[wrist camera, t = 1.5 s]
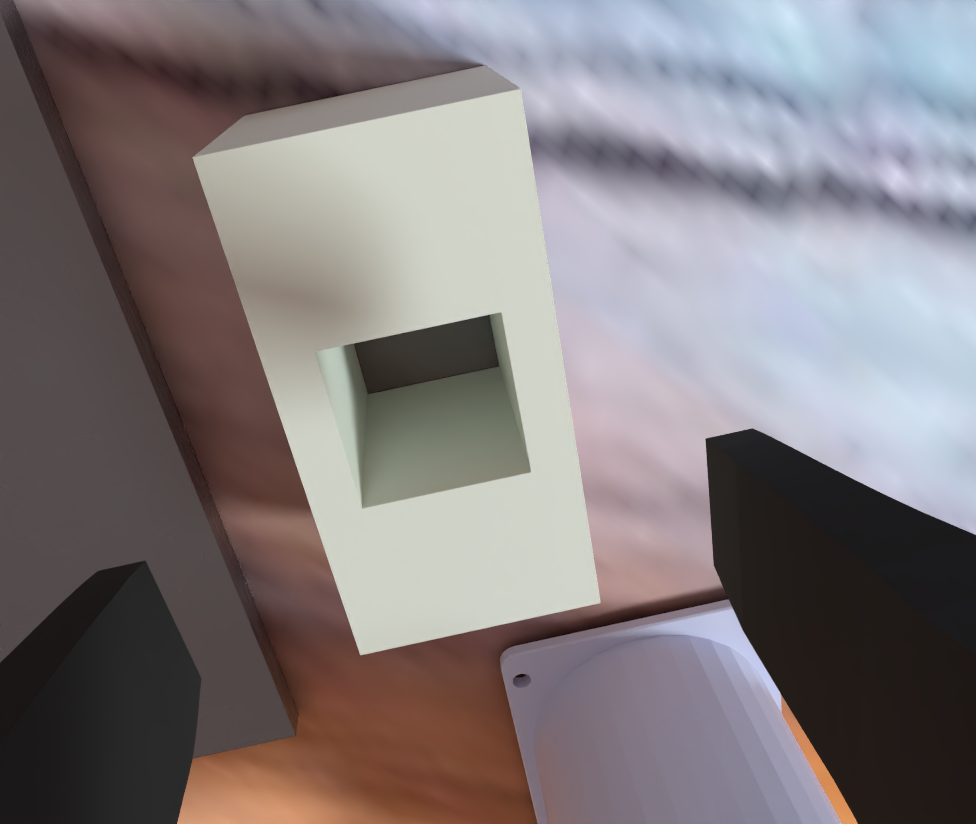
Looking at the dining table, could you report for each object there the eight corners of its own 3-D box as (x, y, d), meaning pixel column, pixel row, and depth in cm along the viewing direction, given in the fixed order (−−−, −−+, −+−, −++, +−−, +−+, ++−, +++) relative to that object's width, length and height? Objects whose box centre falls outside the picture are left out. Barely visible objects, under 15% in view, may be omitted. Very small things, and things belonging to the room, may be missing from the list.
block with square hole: (556, 477, 21) (600, 603, 17) (366, 518, 21) (360, 655, 17) (486, 65, 17) (521, 88, 12) (243, 115, 17) (192, 157, 12)
